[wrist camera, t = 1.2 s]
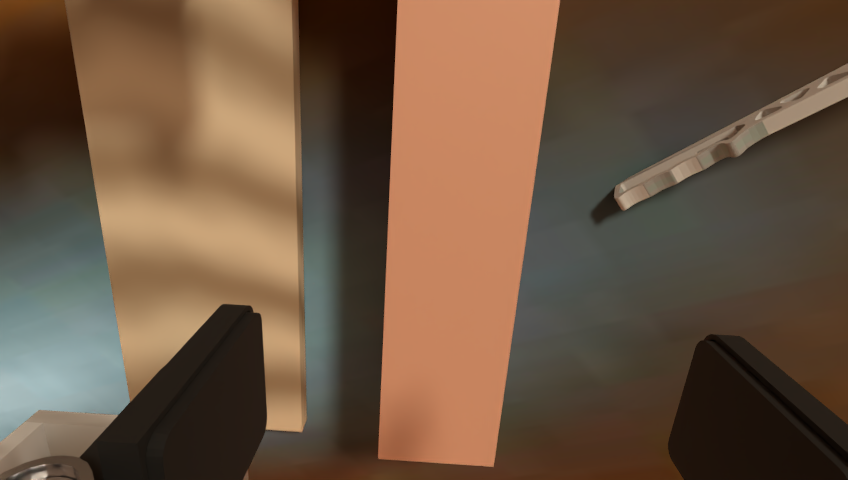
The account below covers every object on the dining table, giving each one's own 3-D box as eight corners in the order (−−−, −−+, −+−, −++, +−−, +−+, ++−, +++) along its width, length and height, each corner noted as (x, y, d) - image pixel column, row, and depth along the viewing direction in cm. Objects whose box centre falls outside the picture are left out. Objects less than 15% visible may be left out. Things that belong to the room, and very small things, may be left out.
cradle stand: (306, 419, 32) (236, 607, 20) (144, 408, 32) (-17, 591, 20) (295, -156, 22) (141, -419, 10) (55, -172, 22) (-369, -455, 10)
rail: (480, 384, 31) (493, 466, 24) (390, 378, 31) (378, 458, 24) (533, -49, 23) (574, -101, 16) (411, -57, 23) (402, -113, 16)
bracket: (1123, -70, 20) (1399, -57, 13) (637, 155, 33) (630, 228, 26) (1107, -142, 20) (1390, -173, 12) (615, 117, 32) (602, 181, 25)
